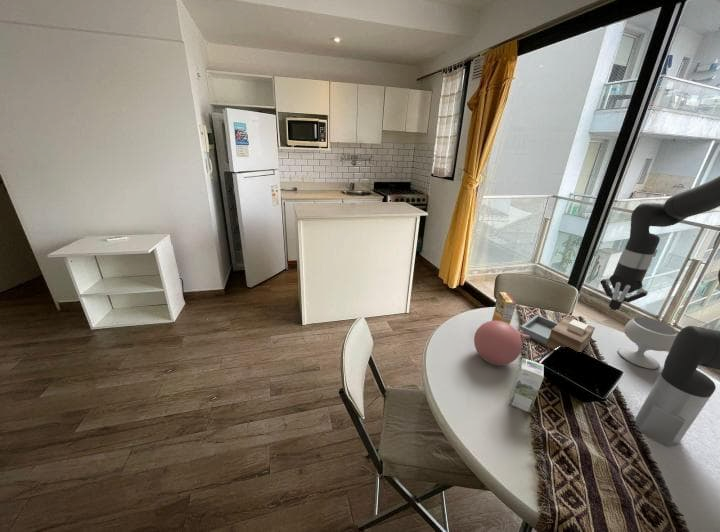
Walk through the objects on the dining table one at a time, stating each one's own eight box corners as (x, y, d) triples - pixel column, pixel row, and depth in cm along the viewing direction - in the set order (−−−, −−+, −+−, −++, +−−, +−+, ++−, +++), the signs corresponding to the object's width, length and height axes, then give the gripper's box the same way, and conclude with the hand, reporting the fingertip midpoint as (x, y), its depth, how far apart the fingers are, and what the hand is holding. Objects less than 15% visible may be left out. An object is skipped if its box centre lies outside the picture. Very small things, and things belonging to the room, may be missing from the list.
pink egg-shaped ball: (537, 373, 101) (550, 337, 95) (482, 375, 99) (492, 338, 93) (512, 345, 115) (522, 312, 109) (463, 346, 113) (471, 312, 107)
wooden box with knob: (574, 359, 108) (582, 342, 105) (545, 346, 115) (551, 329, 112) (588, 344, 118) (595, 327, 115) (560, 332, 125) (566, 316, 122)
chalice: (671, 375, 103) (692, 341, 97) (624, 365, 106) (641, 331, 101) (649, 351, 115) (666, 319, 109) (607, 343, 119) (622, 312, 113)
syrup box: (530, 400, 90) (544, 363, 84) (530, 414, 85) (544, 376, 79) (510, 392, 92) (522, 356, 87) (508, 405, 87) (521, 367, 82)
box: (545, 345, 115) (548, 338, 114) (519, 333, 123) (521, 326, 121) (560, 332, 125) (562, 325, 124) (534, 320, 132) (537, 314, 131)
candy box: (490, 322, 130) (498, 291, 124) (500, 322, 130) (508, 292, 124) (497, 333, 122) (506, 301, 116) (507, 334, 121) (517, 302, 116)
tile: (582, 335, 109) (584, 329, 108) (567, 328, 113) (569, 323, 112) (586, 330, 112) (588, 325, 111) (571, 324, 116) (573, 319, 115)
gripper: (605, 260, 98) (587, 304, 105) (658, 273, 89) (635, 321, 95) (611, 255, 103) (594, 298, 109) (662, 268, 93) (640, 314, 100)
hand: (613, 309), depth 102 cm, fingers closed
